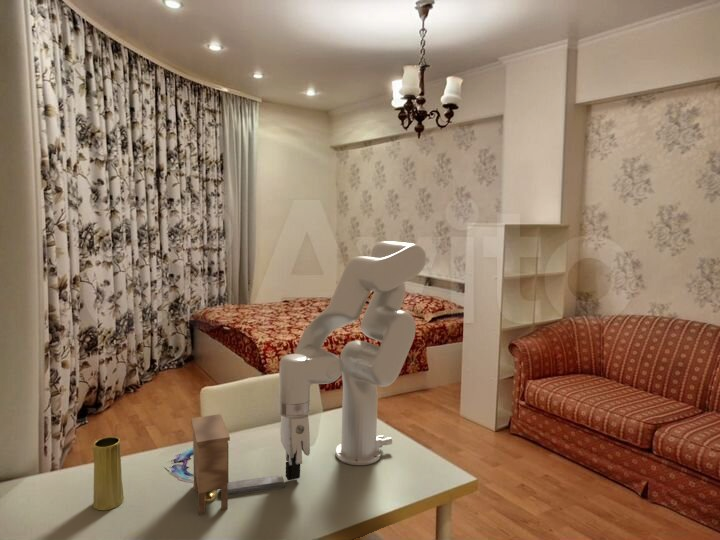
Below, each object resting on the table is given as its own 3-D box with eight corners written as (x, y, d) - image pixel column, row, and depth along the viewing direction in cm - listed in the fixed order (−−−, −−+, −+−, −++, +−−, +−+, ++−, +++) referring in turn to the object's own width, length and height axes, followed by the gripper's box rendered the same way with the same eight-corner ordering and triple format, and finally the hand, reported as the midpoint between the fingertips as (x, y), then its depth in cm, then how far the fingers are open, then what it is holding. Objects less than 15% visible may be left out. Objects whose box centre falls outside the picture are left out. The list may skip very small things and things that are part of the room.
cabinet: (221, 480, 118) (220, 414, 116) (229, 509, 106) (229, 436, 105) (191, 485, 115) (191, 418, 113) (197, 516, 104) (196, 442, 102)
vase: (102, 494, 111) (101, 434, 109) (129, 495, 111) (127, 436, 109) (87, 510, 105) (84, 447, 103) (114, 511, 105) (113, 449, 103)
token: (215, 492, 113) (215, 487, 113) (218, 501, 110) (218, 496, 110) (197, 496, 112) (197, 491, 112) (199, 505, 108) (199, 500, 108)
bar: (282, 482, 119) (282, 474, 118) (284, 489, 116) (284, 481, 116) (220, 491, 114) (220, 483, 114) (221, 498, 111) (221, 490, 111)
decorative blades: (173, 444, 134) (210, 443, 136) (173, 447, 134) (210, 445, 136) (154, 483, 115) (198, 480, 117) (154, 486, 115) (198, 484, 117)
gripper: (319, 415, 112) (317, 490, 114) (300, 393, 125) (298, 460, 127) (287, 420, 108) (286, 497, 110) (271, 396, 122) (270, 465, 124)
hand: (292, 477), depth 119 cm, fingers closed
